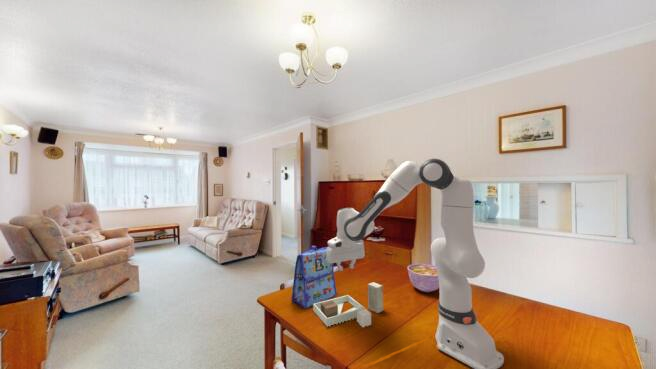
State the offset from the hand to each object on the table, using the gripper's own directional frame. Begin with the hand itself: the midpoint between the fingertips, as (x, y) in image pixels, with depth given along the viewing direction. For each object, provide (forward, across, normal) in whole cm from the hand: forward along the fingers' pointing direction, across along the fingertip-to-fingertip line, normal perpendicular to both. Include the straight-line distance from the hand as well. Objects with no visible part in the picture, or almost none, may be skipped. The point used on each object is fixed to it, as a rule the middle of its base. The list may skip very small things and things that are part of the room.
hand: (346, 269), depth 118 cm
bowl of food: (+20, -54, +1) cm, 57 cm away
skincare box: (+21, -13, +6) cm, 25 cm away
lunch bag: (+21, +8, -19) cm, 30 cm away
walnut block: (+20, +9, 0) cm, 22 cm away
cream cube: (+20, -2, +13) cm, 24 cm away
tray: (+20, +4, 0) cm, 21 cm away
